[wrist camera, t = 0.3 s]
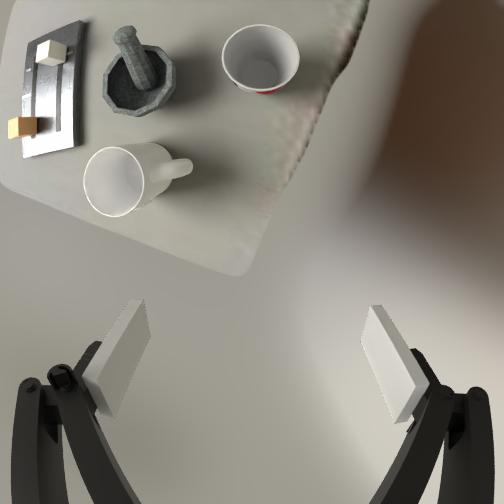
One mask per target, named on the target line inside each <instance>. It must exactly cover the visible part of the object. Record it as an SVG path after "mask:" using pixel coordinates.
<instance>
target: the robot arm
mask: <svg viewBox="0 0 504 504" xmlns="http://www.w3.org/2000/svg"><path fill="white" fill-rule="evenodd" d="M150 337H151V336H150V331H149V327H148V321H147V316H146V310H145V304H144V299H137V298H132V299H131V300H130V302H129V303H128V304H127V306H126V308H125V309H124V310H123V312H122V313H121V315H120V316H119V318H118V319H117V321H116V322H115V324H114V325H113V327H112V328H111V330H110V331H109V333H108V335H107V336H106V338H105V339H104V341H103V342H100V341H95V342H94V343H92V344H91V345H90V346H89V347H88V348H87V350H86V351H85V353H84V354H83V356H82V357H81V359H80V360H79V362H78V363H77V365H76V366H75V368H74V370H72V369H71V367H70V366H68V365H65V364H60V365H56V366H54V367H52V368H51V369H50V370H49V372H48V374H47V378H48V380H49V382H50V384H51V385H42V384H41V383H40V381H39V380H38V379H36V378H32V377H31V378H27V379H25V380H24V381H22V383H21V384H20V386H19V390H18V396H17V403H16V409H15V417H14V426H13V437H12V453H11V495H12V504H69V502H68V496H67V489H66V482H65V472H64V462H63V447H62V425H63V426H64V429H65V432H66V436H67V439H68V442H69V445H70V447H71V450H72V453H73V456H74V458H75V461H76V463H77V466H78V469H79V471H80V474H81V476H82V478H83V481H84V483H85V485H86V487H87V490H88V492H89V494H90V496H91V498H92V500H93V502H94V504H141V502H140V501H139V499H138V497H137V496H136V494H135V493H134V491H133V489H132V488H131V486H130V484H129V482H128V481H127V479H126V477H125V476H124V474H123V472H122V470H121V468H120V466H119V464H118V463H117V461H116V459H115V457H114V455H113V453H112V451H111V449H110V447H109V445H108V443H107V440H106V438H105V436H104V434H103V432H102V430H101V427H100V425H99V423H98V420H97V418H96V416H95V414H94V413H95V411H96V409H98V410H99V412H100V414H101V415H103V416H107V417H111V418H115V416H116V414H117V411H118V409H119V407H120V404H121V402H122V400H123V397H124V395H125V392H126V390H127V388H128V386H129V383H130V381H131V378H132V376H133V374H134V372H135V369H136V367H137V365H138V363H139V361H140V358H141V356H142V354H143V352H144V350H145V347H146V345H147V343H148V341H149V339H150ZM360 342H361V345H362V347H363V349H364V351H365V354H366V356H367V358H368V361H369V363H370V365H371V368H372V370H373V372H374V375H375V377H376V380H377V382H378V385H379V387H380V389H381V391H382V394H383V397H384V399H385V402H386V404H387V407H388V409H389V412H390V415H391V417H392V420H393V422H394V424H396V423H401V422H406V421H407V420H408V419H409V418H410V416H411V414H412V415H413V417H414V421H413V423H412V424H411V425H410V427H409V428H408V430H407V431H406V432H408V433H407V435H406V438H405V440H404V442H403V444H402V446H401V448H400V450H399V452H398V454H397V456H396V458H395V460H394V462H393V464H392V466H391V468H390V469H389V471H388V473H387V475H386V476H385V478H384V480H383V482H382V483H381V485H380V487H379V488H378V490H377V492H376V494H375V495H374V496H373V498H372V500H371V501H370V503H369V504H418V503H419V500H420V498H421V496H422V494H423V492H424V490H425V488H426V485H427V483H428V481H429V478H430V476H431V473H432V471H433V468H434V466H435V463H436V461H437V458H438V455H439V452H440V449H441V446H442V444H443V441H444V454H443V467H442V475H441V483H440V490H439V498H438V503H437V504H494V480H495V478H494V477H495V476H494V475H495V467H494V466H495V465H494V442H493V430H492V421H491V412H490V405H489V398H488V395H487V393H486V392H485V390H483V389H482V388H480V387H472V388H470V389H469V391H468V392H467V394H458V393H454V391H453V390H452V389H451V388H450V387H448V386H446V385H441V384H440V382H439V380H438V379H437V377H436V375H435V374H434V372H433V370H432V369H431V367H430V365H429V364H428V362H426V359H425V357H424V356H423V354H422V353H421V352H419V351H418V350H417V349H416V348H414V349H409V348H408V346H407V344H406V342H405V341H404V339H403V338H402V336H401V334H400V333H399V331H398V330H397V328H396V327H395V325H394V323H393V322H392V320H391V319H390V317H389V315H388V314H387V312H386V311H385V309H384V308H383V306H382V305H371V306H370V309H369V313H368V316H367V320H366V324H365V328H364V331H363V335H362V338H361V341H360ZM444 437H445V438H444Z"/></svg>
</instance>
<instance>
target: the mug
mask: <svg viewBox="0 0 504 504" xmlns="http://www.w3.org/2000/svg"><path fill="white" fill-rule="evenodd" d="M192 170H193V164H192V161H190V160H189V159H175V160H172V157H171V155H170V154H169V152H168V151H167V150H166V149H165V148H164V147H162V146H161V145H158V144H155V143H139V144H128V145H118V146H109V147H106V148H103V149H101V150H100V151H98V152H97V153H96V154H95V155H94V156H93V157H92V158H91V159H90V161H89V162H88V165H87V167H86V169H85V173H84V189H85V193H86V196H87V198H88V200H89V202H90V203H91V205H92V206H93V207H94V208H95V209H96V210H97V211H99V212H100V213H102V214H104V215H106V216H110V217H121V216H125V215H127V214H129V213H131V212H132V211H134V210H137V209H139V208H142V207H143V206H145V205H146V204H148V203H150V202H151V201H152V200H151V199H152V198H154V197H156V196H157V195H159V194H161V193H162V192H163V191H165V190H166V189H167V188H168V186H169V185H170V183H171V181H172V179H174V178H179V177H182V176H185V175H188V174H190V173H191V171H192ZM143 204H144V205H143Z"/></svg>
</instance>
